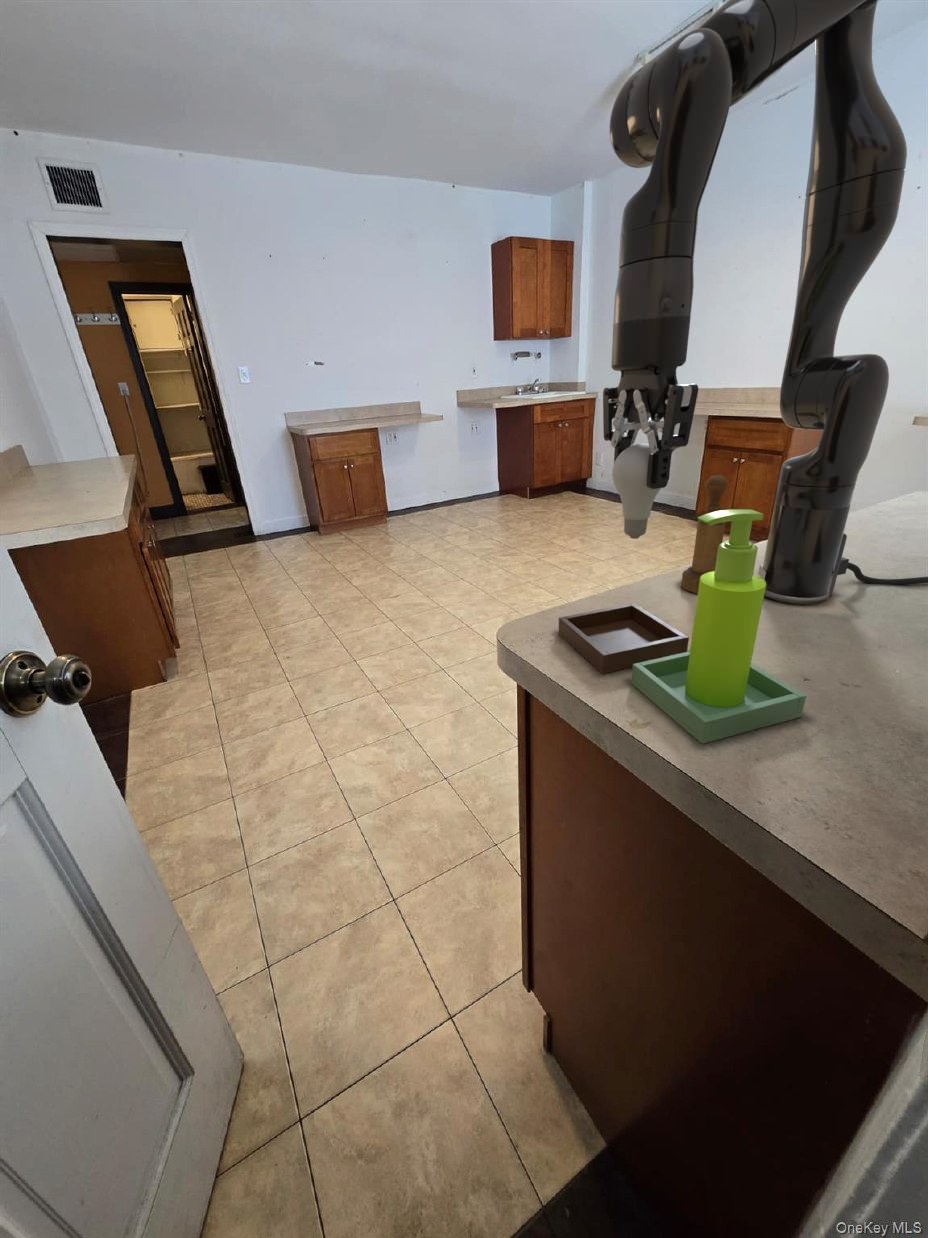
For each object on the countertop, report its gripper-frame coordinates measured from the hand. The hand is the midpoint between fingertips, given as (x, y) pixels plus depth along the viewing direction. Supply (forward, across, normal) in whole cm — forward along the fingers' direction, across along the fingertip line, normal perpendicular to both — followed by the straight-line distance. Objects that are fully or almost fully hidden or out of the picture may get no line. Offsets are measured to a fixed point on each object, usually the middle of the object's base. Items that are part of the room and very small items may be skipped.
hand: (638, 482), depth 60 cm
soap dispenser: (+21, -14, -1) cm, 25 cm away
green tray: (+21, -14, -1) cm, 26 cm away
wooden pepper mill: (+22, +13, -22) cm, 33 cm away
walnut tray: (+21, +1, +1) cm, 21 cm away
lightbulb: (+7, 0, 0) cm, 7 cm away
